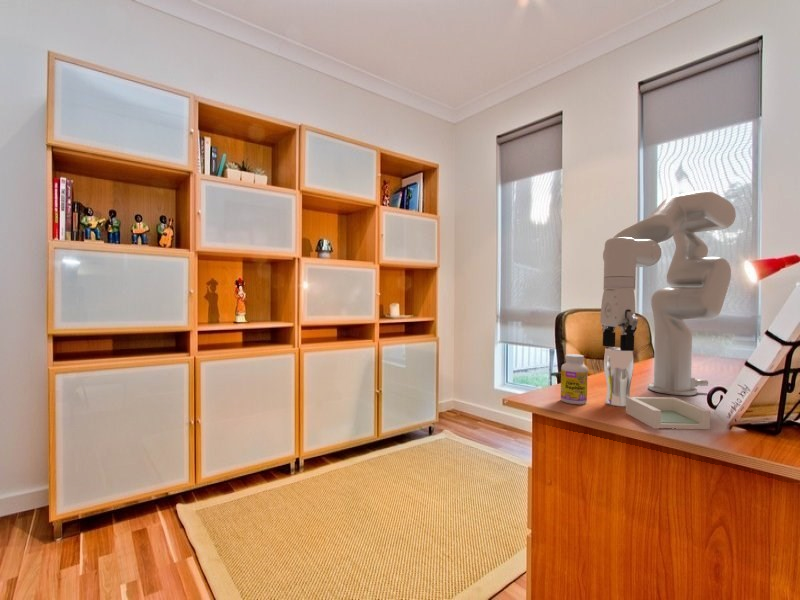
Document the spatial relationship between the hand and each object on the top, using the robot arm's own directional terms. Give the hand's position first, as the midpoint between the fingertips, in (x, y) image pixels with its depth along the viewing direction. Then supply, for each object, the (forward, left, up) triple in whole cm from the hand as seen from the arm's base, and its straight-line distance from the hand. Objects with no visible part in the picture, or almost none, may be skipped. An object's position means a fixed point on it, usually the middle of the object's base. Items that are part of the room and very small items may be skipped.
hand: (617, 348), depth 110 cm
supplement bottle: (+10, -2, -15) cm, 19 cm away
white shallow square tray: (-5, +14, -15) cm, 21 cm away
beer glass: (-1, 0, -15) cm, 15 cm away
